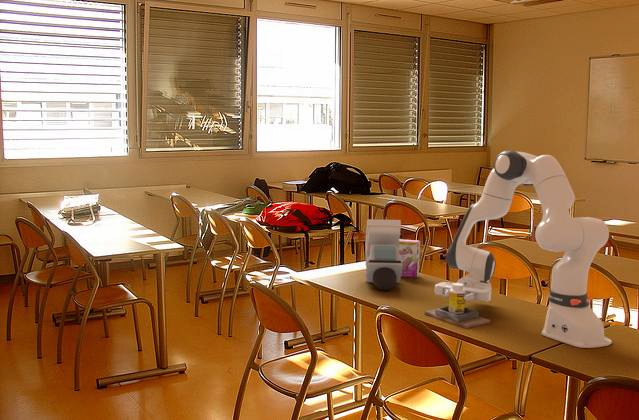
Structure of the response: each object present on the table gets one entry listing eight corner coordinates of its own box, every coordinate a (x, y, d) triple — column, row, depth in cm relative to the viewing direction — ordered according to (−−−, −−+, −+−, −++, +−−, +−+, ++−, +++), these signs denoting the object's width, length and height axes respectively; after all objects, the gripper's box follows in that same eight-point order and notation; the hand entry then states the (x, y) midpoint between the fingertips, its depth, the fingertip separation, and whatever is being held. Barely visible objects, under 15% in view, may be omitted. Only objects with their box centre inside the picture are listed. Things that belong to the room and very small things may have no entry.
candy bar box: (392, 276, 306) (393, 240, 304) (394, 274, 311) (395, 238, 308) (417, 278, 303) (418, 242, 301) (418, 275, 308) (420, 240, 306)
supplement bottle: (456, 315, 239) (457, 286, 237) (445, 311, 243) (446, 283, 242) (467, 312, 242) (469, 284, 240) (456, 309, 246) (457, 281, 245)
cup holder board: (489, 322, 238) (490, 314, 238) (466, 328, 231) (466, 319, 231) (447, 309, 254) (447, 301, 254) (424, 314, 247) (424, 306, 247)
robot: (400, 307, 287) (396, 251, 307) (404, 276, 271) (400, 220, 291) (365, 306, 287) (364, 250, 307) (368, 275, 271) (367, 219, 291)
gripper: (441, 276, 258) (428, 283, 246) (495, 283, 248) (485, 291, 236) (440, 292, 258) (428, 300, 246) (494, 300, 249) (484, 309, 237)
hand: (456, 296), depth 241 cm, fingers closed on supplement bottle, 5 cm apart
